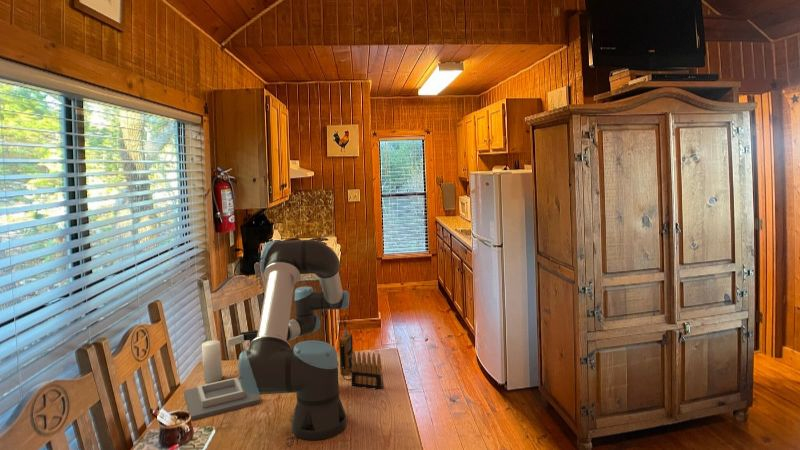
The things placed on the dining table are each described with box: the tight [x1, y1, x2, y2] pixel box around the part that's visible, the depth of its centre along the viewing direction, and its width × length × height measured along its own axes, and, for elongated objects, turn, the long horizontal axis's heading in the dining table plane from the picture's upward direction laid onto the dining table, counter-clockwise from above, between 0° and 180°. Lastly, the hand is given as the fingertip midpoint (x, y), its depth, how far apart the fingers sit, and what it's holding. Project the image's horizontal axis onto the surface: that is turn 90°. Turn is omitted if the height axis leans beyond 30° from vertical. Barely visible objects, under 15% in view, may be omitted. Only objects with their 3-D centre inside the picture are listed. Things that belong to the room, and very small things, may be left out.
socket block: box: [183, 377, 261, 421], centre depth 150 cm, size 20×20×3 cm
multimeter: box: [338, 314, 354, 381], centre depth 167 cm, size 15×10×20 cm
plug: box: [201, 339, 223, 384], centre depth 165 cm, size 6×6×13 cm
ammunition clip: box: [351, 350, 384, 390], centre depth 155 cm, size 11×2×12 cm, turn 72°
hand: (237, 347), depth 172 cm, fingers open, 13 cm apart
